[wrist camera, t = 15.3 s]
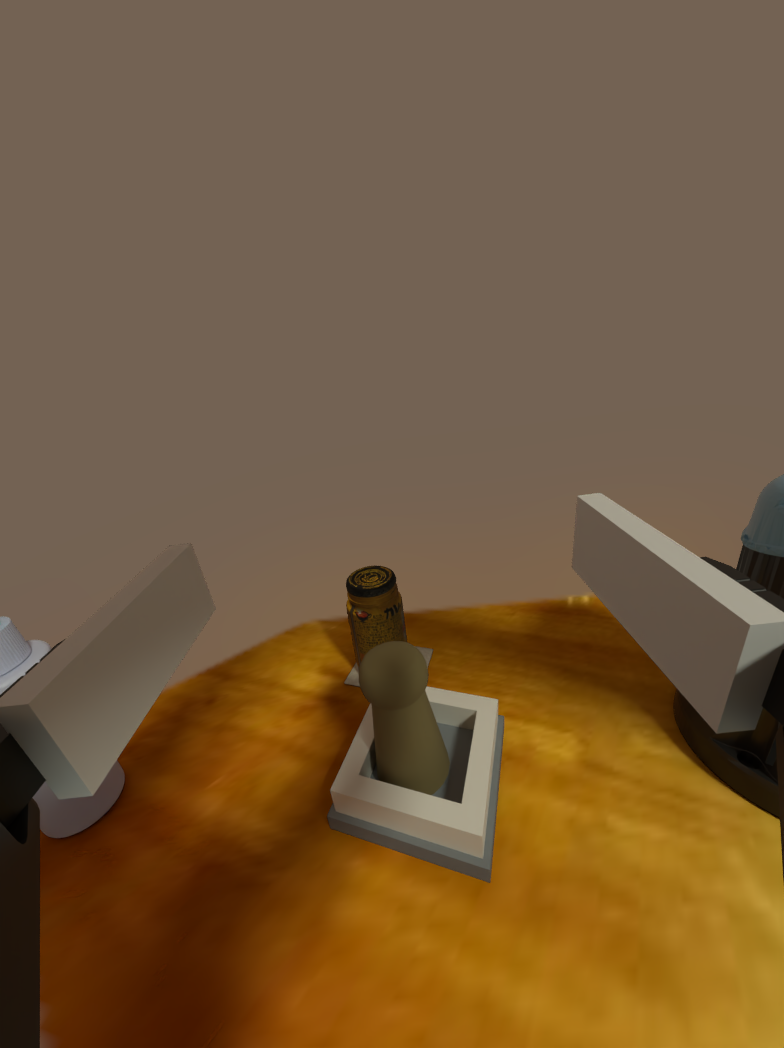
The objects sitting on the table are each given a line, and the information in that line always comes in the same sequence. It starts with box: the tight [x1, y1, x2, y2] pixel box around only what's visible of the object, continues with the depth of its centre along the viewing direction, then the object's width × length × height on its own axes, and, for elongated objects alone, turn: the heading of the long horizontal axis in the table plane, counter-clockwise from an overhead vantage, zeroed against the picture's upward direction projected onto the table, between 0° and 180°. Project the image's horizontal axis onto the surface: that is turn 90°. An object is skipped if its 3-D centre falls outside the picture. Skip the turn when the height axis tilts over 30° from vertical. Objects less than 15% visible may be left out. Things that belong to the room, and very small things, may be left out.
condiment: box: [344, 566, 433, 687], centre depth 42 cm, size 7×8×12 cm
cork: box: [359, 641, 450, 795], centre depth 30 cm, size 6×6×11 cm
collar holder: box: [327, 686, 504, 883], centre depth 32 cm, size 12×12×4 cm
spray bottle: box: [0, 617, 125, 838], centre depth 30 cm, size 6×6×22 cm
